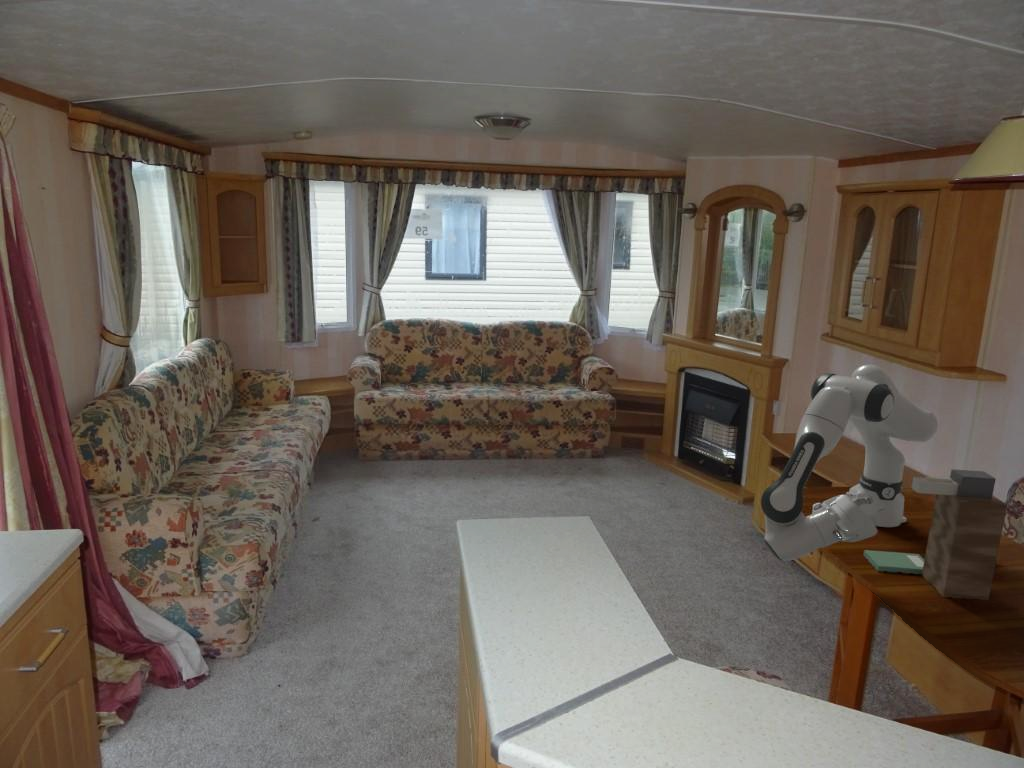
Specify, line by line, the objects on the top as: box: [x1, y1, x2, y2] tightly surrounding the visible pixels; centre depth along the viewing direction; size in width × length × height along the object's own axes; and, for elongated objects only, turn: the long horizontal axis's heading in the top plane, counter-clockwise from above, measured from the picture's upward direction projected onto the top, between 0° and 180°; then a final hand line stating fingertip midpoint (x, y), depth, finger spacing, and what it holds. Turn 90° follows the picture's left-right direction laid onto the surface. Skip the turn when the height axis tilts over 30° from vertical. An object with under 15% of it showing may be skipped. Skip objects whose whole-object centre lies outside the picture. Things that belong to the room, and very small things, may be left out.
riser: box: [921, 494, 1008, 601], centre depth 190 cm, size 12×11×26 cm
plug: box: [911, 469, 997, 499], centre depth 187 cm, size 6×18×6 cm, turn 85°
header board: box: [863, 549, 924, 575], centre depth 204 cm, size 10×15×2 cm, turn 85°
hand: (879, 504), depth 190 cm, fingers open, 8 cm apart
